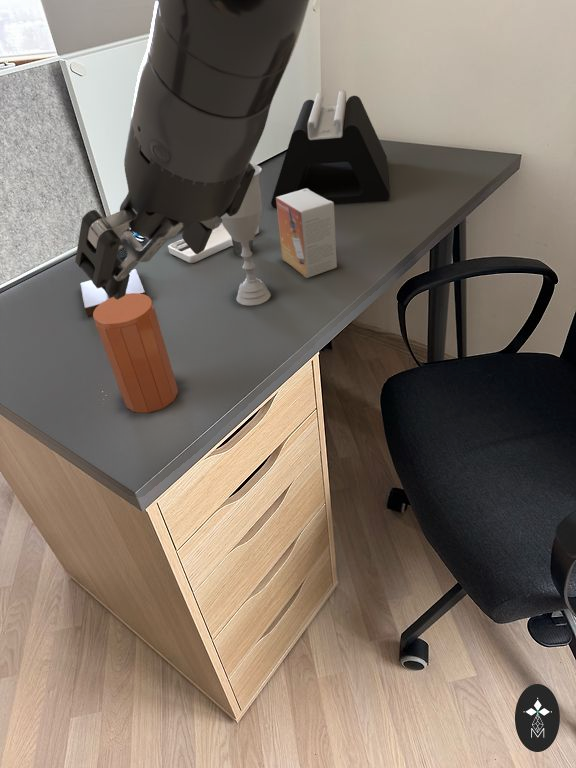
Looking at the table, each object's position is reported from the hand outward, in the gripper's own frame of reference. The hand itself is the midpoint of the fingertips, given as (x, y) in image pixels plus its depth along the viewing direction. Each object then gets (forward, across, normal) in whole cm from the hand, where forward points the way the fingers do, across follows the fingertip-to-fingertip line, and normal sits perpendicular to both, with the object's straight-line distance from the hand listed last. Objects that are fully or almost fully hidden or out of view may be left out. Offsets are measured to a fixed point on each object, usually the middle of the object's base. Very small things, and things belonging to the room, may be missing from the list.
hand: (153, 266), depth 48 cm
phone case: (+40, -33, -14) cm, 54 cm away
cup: (+22, 0, +5) cm, 22 cm away
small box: (+27, -35, +2) cm, 44 cm away
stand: (+39, -11, -14) cm, 43 cm away
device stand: (+41, -65, -13) cm, 78 cm away
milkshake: (+35, -32, -8) cm, 48 cm away
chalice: (+27, -23, +1) cm, 35 cm away
